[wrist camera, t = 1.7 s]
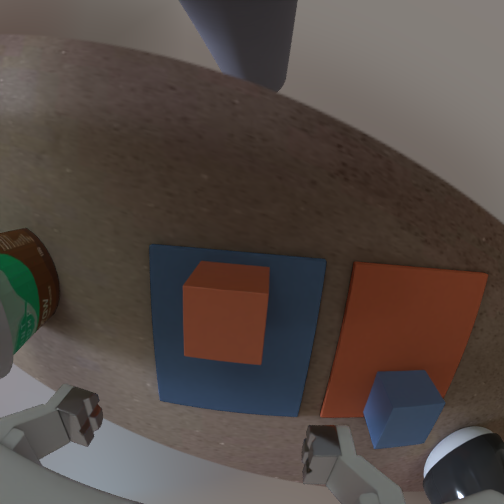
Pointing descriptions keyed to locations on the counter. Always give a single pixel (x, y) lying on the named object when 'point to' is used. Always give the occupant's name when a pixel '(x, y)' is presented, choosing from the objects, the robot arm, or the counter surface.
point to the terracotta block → (226, 312)
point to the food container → (24, 291)
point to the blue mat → (275, 341)
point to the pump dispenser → (464, 465)
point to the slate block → (402, 408)
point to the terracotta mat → (400, 329)
